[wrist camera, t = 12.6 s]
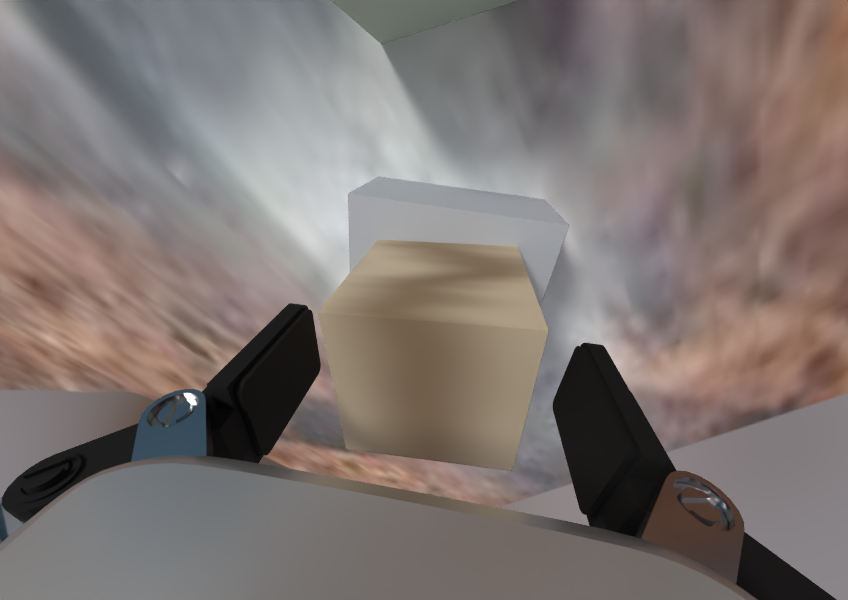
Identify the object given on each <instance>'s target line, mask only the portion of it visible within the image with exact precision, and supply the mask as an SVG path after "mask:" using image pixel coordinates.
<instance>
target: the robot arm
mask: <svg viewBox="0 0 848 600" xmlns="http://www.w3.org/2000/svg"><path fill="white" fill-rule="evenodd" d="M320 366H321V365H320V358H319V351H318V345H317V339H316V332H315V326H314V320H313V314H312V311H311V310H308V307H307V306H306V305H299V304H292V303H291V304H288V305H287V306H286V307H285V308H284V309H283V310H282V311H281V312H280V313H279V314H278V315H277V316H276V317H275V318H274V319H273V320H272V321H271V322H270V323H269V324H268V325H267V326H266V327H265V328H264V329H263V330H262V331H261V332H260V333H259V334H258V335H256V336H255V337H254V338H253V339H252V340H251V341H250V342H249V343H248V344H247V345H246V346H245V347H244V348H243V349H242V350H241V351H240V352H239V353H238V354H237V355H236V356H235V357H234V358H233V359H232V360H231V361H230V362H229V363H228V364H227V365H226V366H225V367H224V368H223V369H222V370H221V371H220V372H219V373H218V374H217V375H216V376H215V377H214V378H213V379H212V380H211V381H210V382H209V383H208V384H207V387H206V388H205V389H204V390H203V391H202V392H201V391H199V390H195V389H183V390H179V391H174V392H172V393H169V394H167V395H165V396H163V397H161V398H159V399H157V400H156V401H154V402H153V403H152V404H151V405H149V406H148V407H147V408H146V410H145V411H144V412H143V413H142V415H141V417H140V419H139V423H138V424H135V425H133V426H130V427H127V428H125V429H122V430H119V431H117V432H114V433H111V434H109V435H106V436H103V437H100V438H98V439H95V440H92V441H90V442H87V443H85V444H82V445H79V446H76V447H74V448H71V449H68V450H66V451H63V452H61V453H58V454H55V455H53V456H51V457H49V458H46V459H44V460H42V461H40V462H39V463H37V464H35V465H34V466H32V467H30V468H29V469H28V470H26V471H25V472H24V473H23V474H21V475H20V476H19V477H17V478H16V479H15V480H14V482H13V483H12V484H11V485H10V486H9V487H8V488H7V490H6V491H5V493H4V495H3V497H1V498H0V600H836V599H835V598H834V597H832V596H831V595H830V594H828V593H827V592H825V591H824V590H823V589H821V588H820V587H819V586H817V585H816V584H815V583H813V582H812V581H811V580H809V579H808V578H806V577H805V576H804V575H802V574H801V573H800V572H798V571H797V570H796V569H794V568H793V567H791V566H790V565H789V564H787V563H786V562H785V561H783V560H782V559H780V558H779V557H778V556H777V555H775V554H774V553H772V552H771V551H770V550H768V549H767V548H766V547H764V546H763V545H762V544H760V543H759V542H757V541H756V540H755V539H753V538H752V537H751V536H749V535H748V534H747V533H745V532H744V521H743V519H742V517H741V515H740V512H739V510H738V509H737V508H736V506H735V505H734V504H733V503H732V501H731V500H730V499H729V498H728V497H727V496H726V495H725V494H724V493H723V492H722V491H721V490H720V489H719V488H717V487H716V486H714V485H713V484H712V483H710V482H709V481H707V480H705V479H703V478H702V477H700V476H698V475H695V474H693V473H690V472H687V471H676V469H675V467H674V466H673V464H672V462H671V460H670V459H669V457H668V455H667V453H666V452H665V450H664V448H663V446H662V445H661V443H660V441H659V439H658V438H657V436H656V434H655V432H654V431H653V429H652V427H651V426H650V424H649V422H648V420H647V419H646V417H645V415H644V413H643V412H642V410H641V408H640V406H639V405H638V403H637V401H636V399H635V398H634V396H633V394H632V393H631V392H630V390H629V389H628V387H627V385H626V383H625V382H624V380H623V378H622V376H621V375H620V373H619V371H618V369H617V368H616V366H615V364H614V362H613V361H612V359H611V357H610V355H609V354H608V352H607V350H606V349H605V347H604V346H603V345H598V344H590V343H583V344H582V345H581V347H580V346H577V347H576V348H575V350H574V352H573V355H572V357H571V359H570V362H569V364H568V367H567V369H566V371H565V374H564V376H563V379H562V381H561V383H560V386H559V388H558V391H557V393H556V395H555V398H554V401H553V411H554V415H555V419H556V423H557V426H558V430H559V434H560V437H561V441H562V445H563V449H564V452H565V456H566V460H567V463H568V467H569V471H570V474H571V478H572V482H573V485H574V489H575V493H576V496H577V500H578V504H579V508H580V510H581V512H582V513H583V514H585V515H587V518H588V522H589V525H590V526H586V525H582V524H577V523H572V522H567V521H562V520H558V519H553V518H548V517H543V516H538V515H533V514H527V513H523V512H517V511H512V510H507V509H502V508H497V507H492V506H486V505H481V504H476V503H471V502H466V501H461V500H455V499H450V498H445V497H439V496H434V495H429V494H423V493H418V492H413V491H408V490H402V489H397V488H391V487H386V486H381V485H375V484H370V483H365V482H359V481H354V480H348V479H343V478H337V477H332V476H326V475H321V474H315V473H310V472H304V471H299V470H293V469H288V468H282V467H277V466H271V465H265V464H259V462H260V460H261V458H262V457H263V455H268V454H269V453H270V451H271V450H272V448H273V447H274V445H275V443H276V442H277V440H278V439H279V437H280V435H281V434H282V432H283V430H284V429H285V427H286V426H287V424H288V422H289V421H290V419H291V417H292V416H293V414H294V413H295V411H296V409H297V408H298V406H299V405H300V403H301V401H302V400H303V398H304V396H305V395H306V393H307V392H308V390H309V388H310V387H311V385H312V384H313V382H314V380H315V379H316V377H317V375H318V374H319V371H320Z"/></svg>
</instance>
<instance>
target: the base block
mask: <svg viewBox="0 0 848 600" xmlns="http://www.w3.org/2000/svg"><path fill="white" fill-rule="evenodd" d="M348 211H349V254H350V273H351V271H352V270H353V269H354V268H355V267H356V265H357V264H358V263H359V262H360V260H361V259H362V258H363V257H364V256H365V254H366V253H367V252H368V251H369V249H370V248H371V247H372V246H373V245H374V243H375V242H376V241H377V240H396V241H416V242H437V243H458V244H478V245H499V246H517V247H518V249H519V252H520V255H521V257H522V260H523V263H524V265H525V268H526V271H527V273H528V276H529V279H530V282H531V284H532V287H533V290H534V292H535V295H536V298H537V300H538V303H539V306H540V305H541V303H542V300H543V297H544V294H545V291H546V289H547V286H548V283H549V280H550V278H551V275H552V272H553V269H554V267H555V264H556V261H557V258H558V255H559V253H560V250H561V247H562V244H563V242H564V239H565V236H566V233H567V231H568V228H569V224H568V223H567V222H566V221H565V220H564V219H563V218H562V217H561V216H560V215H559V214H558V213H557V212H556V211H555V210H554V209H553V208H552V207H551V206H550V204H549V203H548V202H547V201H546V200H545V199H537V198H530V197H523V196H516V195H509V194H501V193H494V192H487V191H480V190H472V189H465V188H458V187H451V186H443V185H436V184H429V183H422V182H415V181H407V180H400V179H393V178H386V177H377V178H375V179H373V180H372V181H370V182H368V183H366V184H364V185H363V186H361V187H359V188H357V189H356V190H354V191H352V192H350V193H348Z"/></svg>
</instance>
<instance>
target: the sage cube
mask: <svg viewBox="0 0 848 600" xmlns="http://www.w3.org/2000/svg"><path fill="white" fill-rule="evenodd" d="M332 1H333V2H334V3H335V4H336V5H337V6H338V7H340V8H341V9H342V10H343V11H344V12H345V13H346V14H348V15H349V16H350V17H351V18H352V19H353V20H354V21H356V22H357V23H358V24H359V25H360V26H361V27H362V28H364V29H365V30H366V31H367V32H368V33H369V34H370V35H372V36H373V37H374V38H375V39H376V40H377V41H378V42H380V43H381V44H382V43H385V42H389V41H392V40H395V39H398V38H401V37H404V36H408V35H411V34H414V33H417V32H420V31H423V30H427V29H430V28H433V27H436V26H439V25H442V24H446V23H449V22H452V21H455V20H458V19H461V18H465V17H468V16H471V15H474V14H477V13H480V12H484V11H487V10H490V9H493V8H496V7H499V6H503V5H506V4H509V3H512V2H515V1H518V0H332Z"/></svg>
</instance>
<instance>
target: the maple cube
mask: <svg viewBox="0 0 848 600" xmlns="http://www.w3.org/2000/svg"><path fill="white" fill-rule="evenodd" d="M318 315H319V320H320V325H321V330H322V334H323V339H324V344H325V349H326V354H327V358H328V363H329V368H330V373H331V378H332V383H333V387H334V392H335V397H336V402H337V407H338V411H339V416H340V421H341V426H342V431H343V435H344V440H345V445H346V449H350V450H358V451H365V452H373V453H380V454H388V455H395V456H403V457H410V458H418V459H425V460H433V461H440V462H448V463H455V464H463V465H470V466H478V467H485V468H493V469H500V470H508V471H513V467H514V463H515V459H516V455H517V451H518V447H519V444H520V440H521V436H522V432H523V428H524V424H525V420H526V417H527V413H528V409H529V405H530V401H531V397H532V393H533V390H534V386H535V382H536V378H537V374H538V370H539V367H540V363H541V359H542V355H543V351H544V347H545V343H546V340H547V336H548V332H549V330H548V327H547V324H546V322H545V319H544V316H543V314H542V311H541V308H540V306H539V303H538V300H537V298H536V295H535V292H534V290H533V287H532V284H531V282H530V279H529V276H528V273H527V271H526V268H525V265H524V263H523V260H522V257H521V255H520V252H519V249H518V247H517V246H499V245H478V244H458V243H437V242H416V241H396V240H377V241H376V242H375V243H374V245H373V246H372V247H371V248H370V249H369V251H368V252H367V253H366V254H365V256H364V257H363V258H362V259H361V260H360V262H359V263H358V264H357V265H356V267H355V268H354V269H353V270H352V271H351V273H350V274H349V275H348V276H347V277H346V279H345V280H344V281H343V282H342V284H341V285H340V286H339V287H338V288H337V290H336V291H335V292H334V293H333V295H332V296H331V297H330V298H329V299H328V301H327V302H326V303H325V304H324V306H323V307H322V308H321V309H320V310H319V312H318Z"/></svg>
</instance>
